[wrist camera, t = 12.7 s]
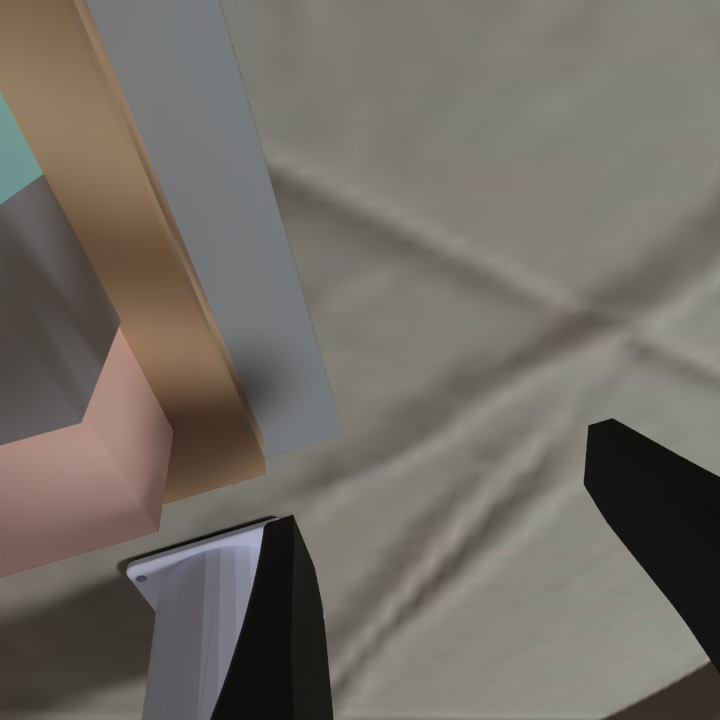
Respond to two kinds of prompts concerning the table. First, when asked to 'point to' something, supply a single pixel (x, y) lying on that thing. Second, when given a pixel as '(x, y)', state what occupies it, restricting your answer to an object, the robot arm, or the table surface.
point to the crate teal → (14, 156)
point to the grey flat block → (222, 204)
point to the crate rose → (87, 473)
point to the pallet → (103, 261)
